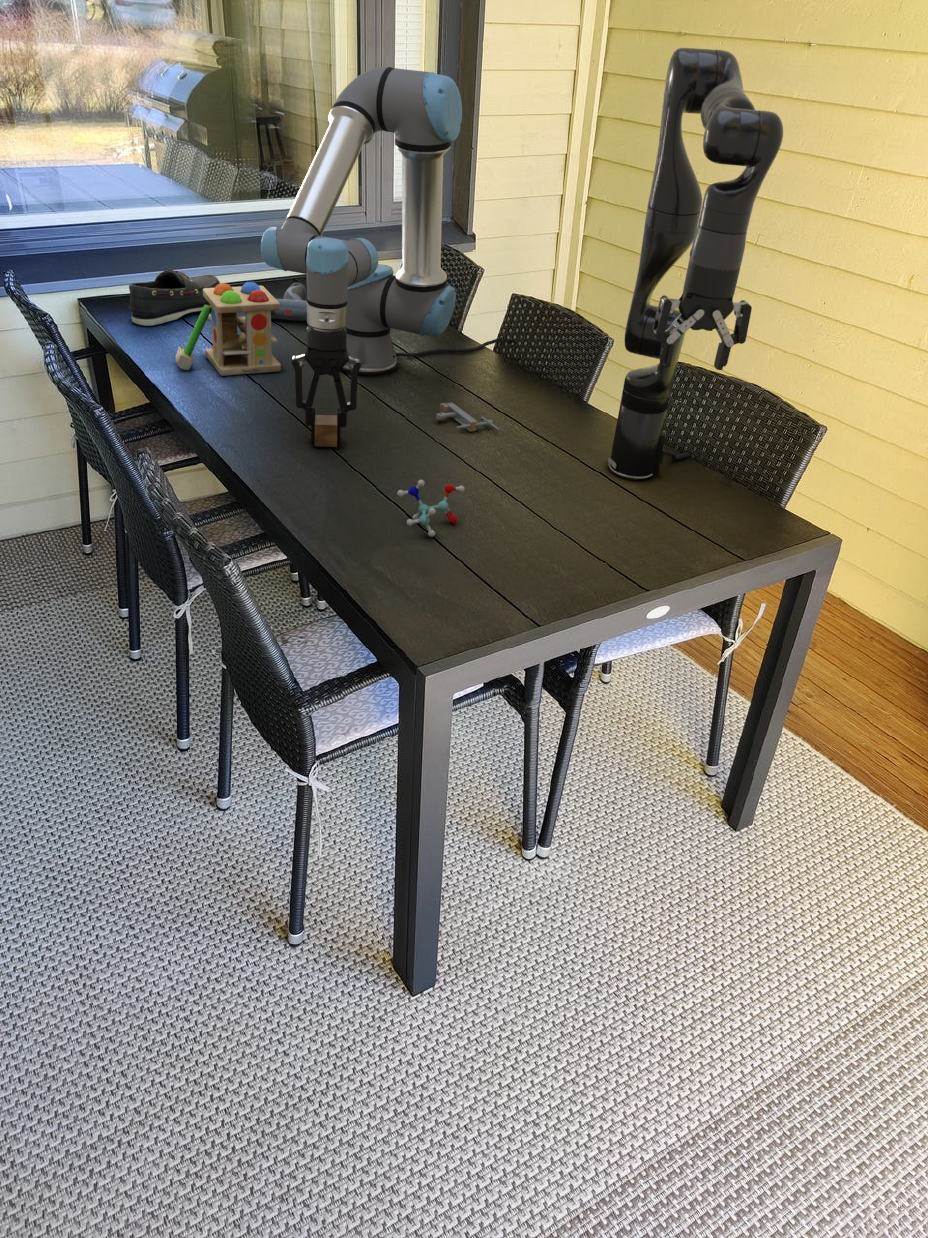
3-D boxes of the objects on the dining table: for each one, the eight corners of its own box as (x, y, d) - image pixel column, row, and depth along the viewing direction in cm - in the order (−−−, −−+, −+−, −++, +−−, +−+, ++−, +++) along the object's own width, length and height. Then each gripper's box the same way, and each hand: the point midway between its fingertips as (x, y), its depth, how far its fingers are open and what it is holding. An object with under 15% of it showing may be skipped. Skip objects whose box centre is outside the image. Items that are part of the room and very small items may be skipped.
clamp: (428, 404, 215) (467, 399, 219) (427, 414, 216) (466, 408, 220) (462, 431, 204) (502, 425, 209) (461, 441, 205) (501, 434, 210)
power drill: (344, 304, 276) (335, 327, 259) (277, 298, 275) (264, 321, 258) (344, 285, 273) (335, 306, 256) (277, 279, 272) (264, 300, 255)
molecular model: (455, 530, 166) (436, 473, 165) (406, 545, 170) (387, 490, 168) (476, 520, 177) (458, 467, 175) (430, 535, 180) (412, 483, 179)
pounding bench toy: (183, 379, 220) (176, 299, 210) (169, 357, 231) (162, 280, 221) (282, 371, 230) (280, 294, 220) (264, 350, 240) (262, 276, 230)
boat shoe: (241, 304, 270) (238, 265, 264) (149, 328, 246) (144, 285, 240) (207, 295, 275) (204, 257, 270) (113, 318, 251) (108, 276, 246)
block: (314, 446, 196) (314, 424, 194) (315, 436, 200) (315, 414, 198) (336, 447, 197) (337, 425, 194) (337, 436, 201) (337, 415, 198)
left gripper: (278, 329, 181) (281, 446, 194) (373, 334, 183) (369, 450, 196) (281, 317, 187) (283, 431, 200) (372, 322, 190) (368, 434, 203)
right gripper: (675, 264, 140) (654, 373, 149) (770, 270, 142) (743, 377, 151) (662, 250, 146) (641, 356, 156) (752, 256, 148) (727, 360, 157)
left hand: (325, 440), depth 198 cm, fingers closed on block, 4 cm apart
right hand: (691, 366), depth 153 cm, fingers open, 8 cm apart
